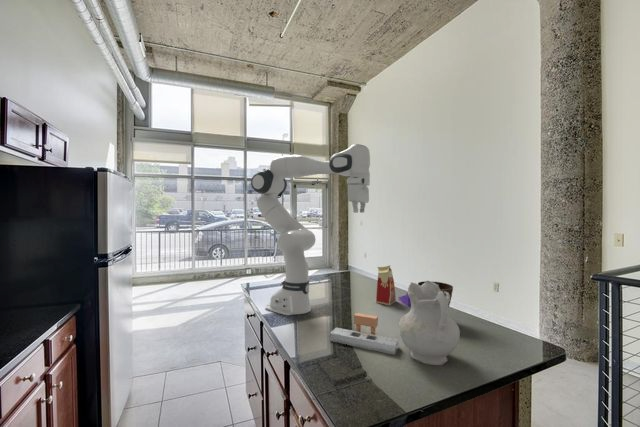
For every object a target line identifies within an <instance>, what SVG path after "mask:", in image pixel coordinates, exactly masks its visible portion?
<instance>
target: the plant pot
mask: <svg viewBox="0 0 640 427" xmlns="http://www.w3.org/2000/svg"><path fill="white" fill-rule="evenodd" d="M427 281H428V280H425V282H427ZM425 282H424V281H418V282H417V285H418V286H421V285H423V284H424V283H425ZM432 282H433V283H435V284H437V285H438V284H439V285H438V286H439V288H440V290H441V291H446V292H447V293H449V295H450V301H449V304H448V308H449V307H450V305H451V301H452V300H451V299H452V296H453V291H454V286H453V285H451V284H449V283H445V282H440V281H432Z"/></svg>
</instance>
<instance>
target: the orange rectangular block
mask: <svg viewBox="0 0 640 427" xmlns="http://www.w3.org/2000/svg"><path fill="white" fill-rule="evenodd" d="M353 324H355V331H357V332H361V329H362V326H365V327H369V328H370V334H373V335H376V328H377V327H378V326H379V316H378V315H372V314H366V313H359V312H355V314H353Z"/></svg>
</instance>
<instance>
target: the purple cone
mask: <svg viewBox="0 0 640 427" xmlns="http://www.w3.org/2000/svg"><path fill="white" fill-rule="evenodd" d="M398 301H400V302H401V303H403V305H405V306H407V307H411V301H410V298H409V296H408V292H406V294H405V295H402V296H398Z"/></svg>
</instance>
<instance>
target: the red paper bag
mask: <svg viewBox="0 0 640 427" xmlns="http://www.w3.org/2000/svg"><path fill="white" fill-rule="evenodd" d="M377 272H378V273H377V283H376V296H375V299H376V301H375V303H376V304H381V305H386V306H391V305H393V304H394V303H396V302H397V295H396V287H395V279H394V275H393V271H392V269H391V265H386V266H377Z"/></svg>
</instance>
